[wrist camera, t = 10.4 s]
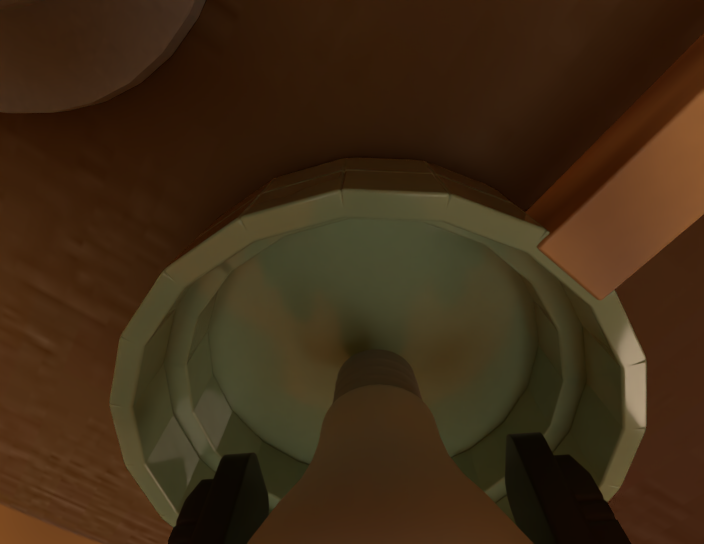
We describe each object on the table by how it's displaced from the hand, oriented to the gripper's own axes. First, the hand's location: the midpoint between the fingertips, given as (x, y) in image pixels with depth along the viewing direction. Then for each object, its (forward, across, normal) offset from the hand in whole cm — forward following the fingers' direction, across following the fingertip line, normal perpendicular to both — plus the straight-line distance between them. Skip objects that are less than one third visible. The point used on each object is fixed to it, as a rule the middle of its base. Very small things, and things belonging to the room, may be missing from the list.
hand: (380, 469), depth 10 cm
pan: (+5, 0, 0) cm, 5 cm away
